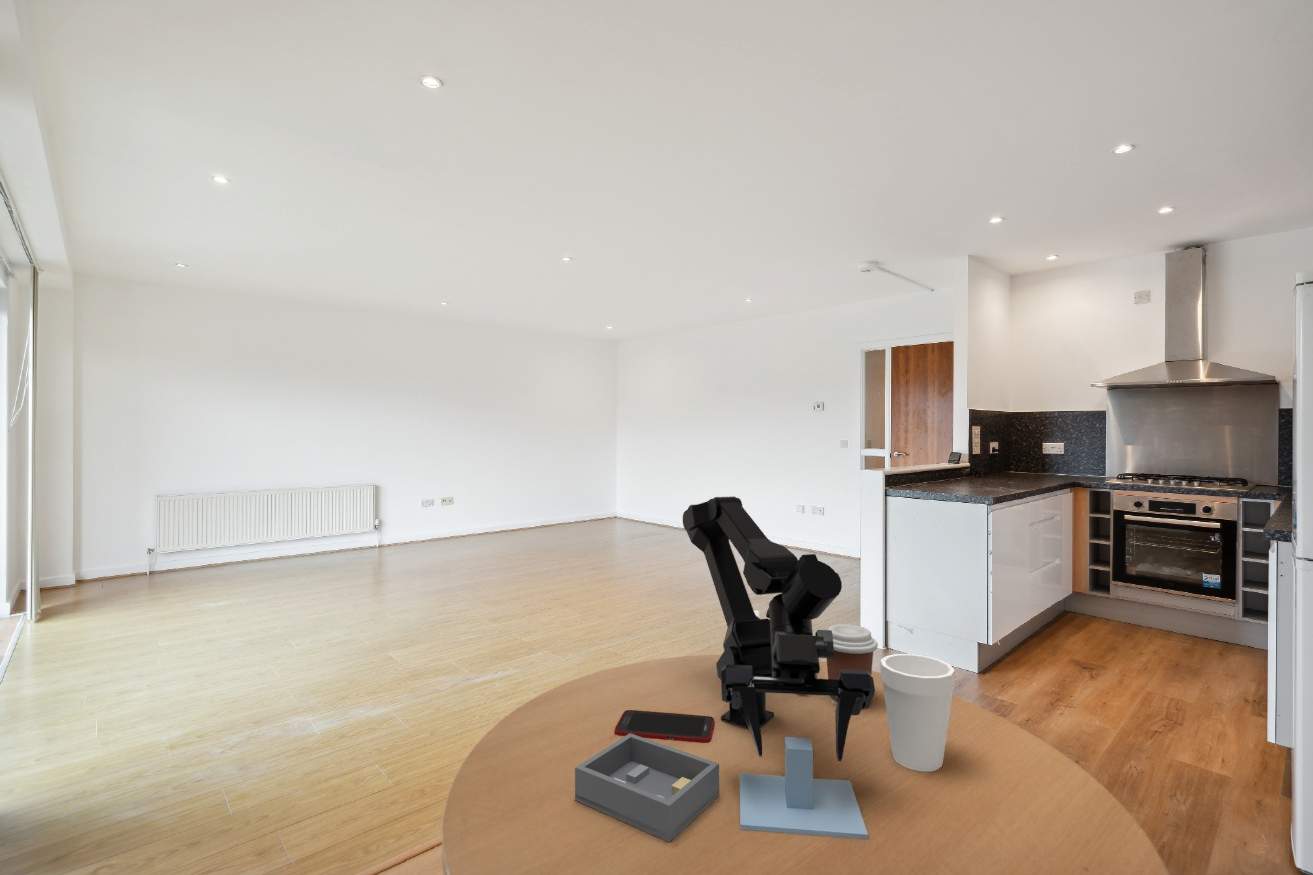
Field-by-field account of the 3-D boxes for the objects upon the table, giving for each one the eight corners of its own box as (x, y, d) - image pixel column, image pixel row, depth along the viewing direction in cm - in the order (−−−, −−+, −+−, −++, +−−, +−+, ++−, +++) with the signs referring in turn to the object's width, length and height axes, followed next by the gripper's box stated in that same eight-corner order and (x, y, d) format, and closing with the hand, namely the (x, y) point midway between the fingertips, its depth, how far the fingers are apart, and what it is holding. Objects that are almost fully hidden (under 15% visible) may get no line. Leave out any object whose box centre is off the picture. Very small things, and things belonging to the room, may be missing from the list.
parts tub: (629, 762, 85) (629, 733, 85) (719, 795, 77) (719, 763, 77) (575, 800, 76) (575, 767, 76) (669, 842, 68) (669, 805, 68)
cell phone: (624, 715, 101) (624, 709, 101) (715, 722, 98) (715, 716, 98) (612, 737, 94) (612, 730, 94) (710, 746, 91) (710, 739, 91)
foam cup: (954, 751, 88) (954, 659, 88) (955, 784, 80) (955, 682, 80) (883, 738, 92) (883, 650, 92) (877, 767, 84) (877, 671, 84)
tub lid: (739, 780, 82) (739, 719, 82) (850, 788, 80) (850, 725, 80) (740, 833, 71) (740, 762, 71) (868, 843, 69) (868, 771, 69)
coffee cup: (876, 693, 109) (875, 624, 109) (879, 715, 100) (879, 640, 100) (822, 687, 111) (821, 620, 111) (821, 708, 103) (820, 635, 103)
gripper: (721, 602, 80) (719, 726, 69) (871, 606, 78) (894, 736, 67) (722, 643, 88) (721, 761, 77) (859, 648, 86) (877, 771, 75)
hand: (800, 757), depth 74 cm, fingers open, 9 cm apart
